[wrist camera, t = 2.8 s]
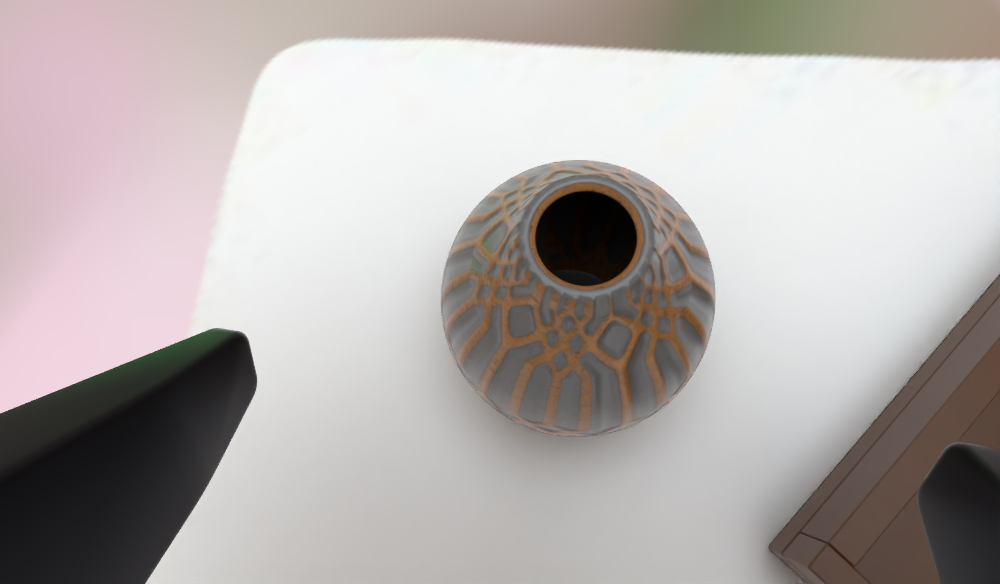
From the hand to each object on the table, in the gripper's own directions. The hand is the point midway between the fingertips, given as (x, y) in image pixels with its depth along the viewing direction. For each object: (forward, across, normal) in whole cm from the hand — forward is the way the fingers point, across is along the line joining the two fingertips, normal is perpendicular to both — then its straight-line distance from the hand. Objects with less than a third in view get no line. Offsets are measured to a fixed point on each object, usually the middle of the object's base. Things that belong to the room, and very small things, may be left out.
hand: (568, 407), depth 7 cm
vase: (+10, 0, +6) cm, 11 cm away
